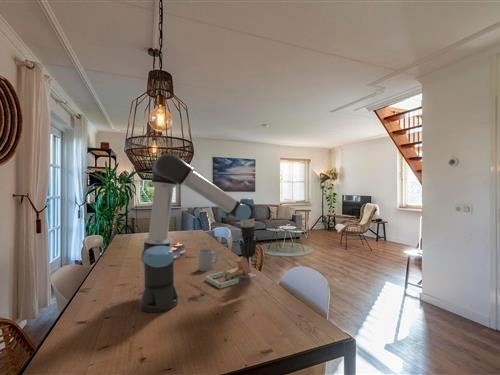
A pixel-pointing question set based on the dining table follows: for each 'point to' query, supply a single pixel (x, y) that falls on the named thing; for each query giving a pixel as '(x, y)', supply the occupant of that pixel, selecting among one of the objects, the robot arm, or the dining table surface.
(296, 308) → the dining table surface
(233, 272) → the chip
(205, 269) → the mug
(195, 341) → the dining table surface
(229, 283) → the tray
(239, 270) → the chip
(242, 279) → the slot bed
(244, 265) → the salmon pink flat-faced block
